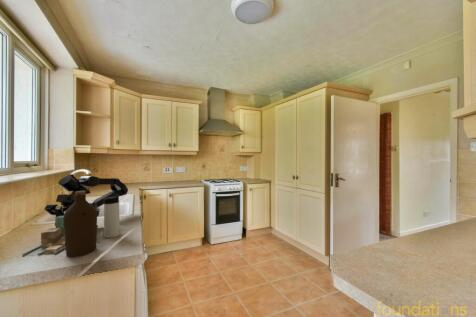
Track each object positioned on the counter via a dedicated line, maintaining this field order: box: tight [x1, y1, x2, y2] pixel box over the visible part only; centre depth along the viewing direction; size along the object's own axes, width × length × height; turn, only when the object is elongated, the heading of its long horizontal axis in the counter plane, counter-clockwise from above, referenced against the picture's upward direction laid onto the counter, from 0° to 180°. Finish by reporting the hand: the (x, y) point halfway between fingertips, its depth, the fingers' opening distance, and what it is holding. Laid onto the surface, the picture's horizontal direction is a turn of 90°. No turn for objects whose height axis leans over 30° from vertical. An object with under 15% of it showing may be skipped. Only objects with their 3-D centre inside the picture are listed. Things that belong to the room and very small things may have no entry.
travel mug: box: [103, 194, 121, 239], centre depth 97 cm, size 6×7×20 cm
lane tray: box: [21, 239, 66, 257], centre depth 87 cm, size 12×19×2 cm, turn 4°
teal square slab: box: [40, 215, 65, 248], centre depth 89 cm, size 4×10×10 cm, turn 4°
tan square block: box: [56, 240, 65, 247], centre depth 86 cm, size 4×4×2 cm
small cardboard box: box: [45, 245, 63, 254], centre depth 81 cm, size 4×4×2 cm
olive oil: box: [63, 191, 98, 259], centre depth 80 cm, size 11×11×25 cm
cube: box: [40, 227, 62, 245], centre depth 87 cm, size 5×5×5 cm
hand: (59, 225), depth 91 cm, fingers closed on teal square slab, 3 cm apart
